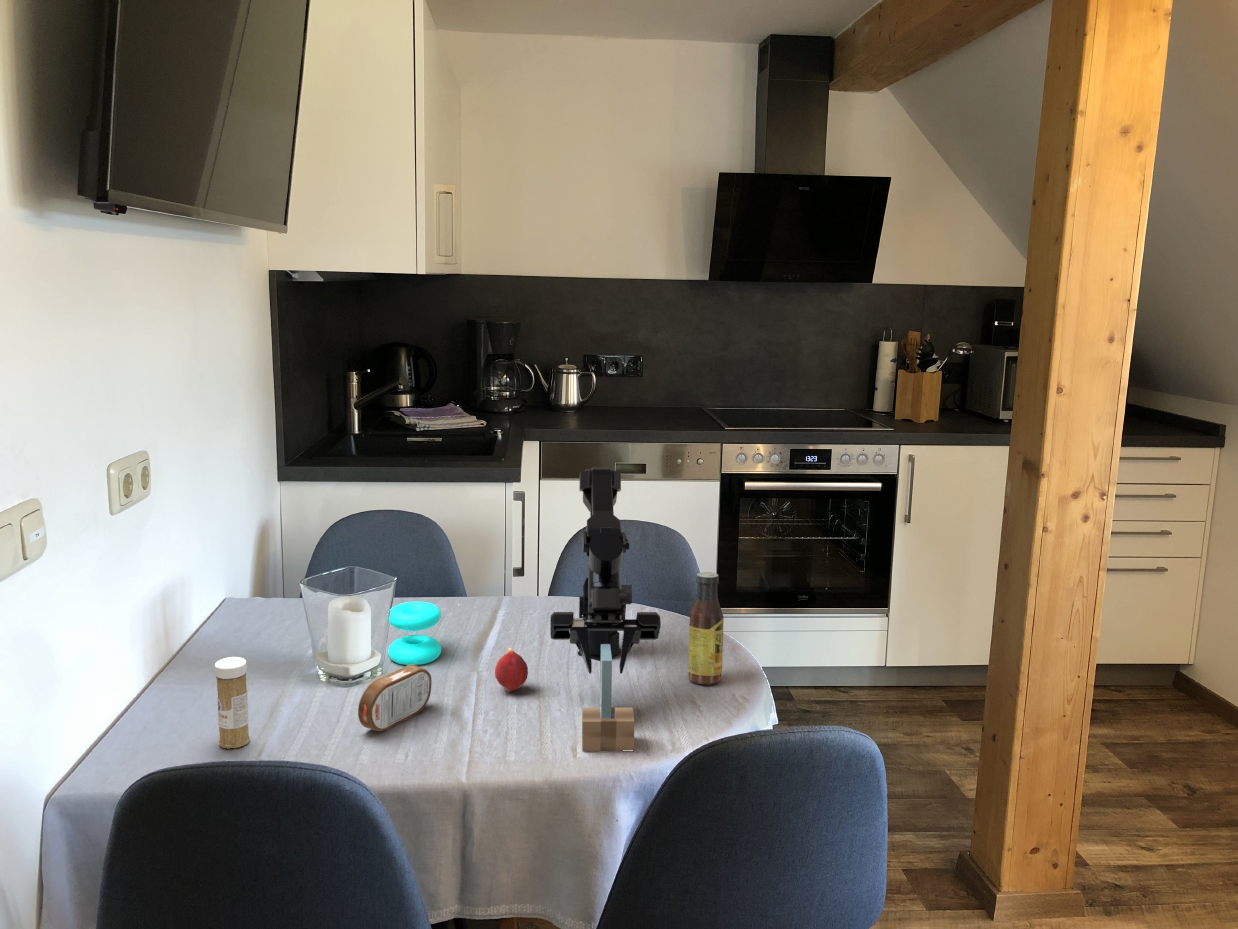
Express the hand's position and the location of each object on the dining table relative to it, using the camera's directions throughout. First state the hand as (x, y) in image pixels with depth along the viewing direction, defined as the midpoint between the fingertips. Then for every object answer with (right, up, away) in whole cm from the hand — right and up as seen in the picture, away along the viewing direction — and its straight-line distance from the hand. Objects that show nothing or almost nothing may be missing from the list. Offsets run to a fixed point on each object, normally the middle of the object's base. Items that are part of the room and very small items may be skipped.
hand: (605, 672), depth 165 cm
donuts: (-37, -3, +25) cm, 45 cm away
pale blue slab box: (0, -8, +1) cm, 8 cm away
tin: (-34, -8, -2) cm, 35 cm away
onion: (-17, -6, +10) cm, 21 cm away
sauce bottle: (+18, -5, +17) cm, 25 cm away
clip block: (0, -9, -9) cm, 13 cm away
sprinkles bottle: (-58, -9, -11) cm, 59 cm away
